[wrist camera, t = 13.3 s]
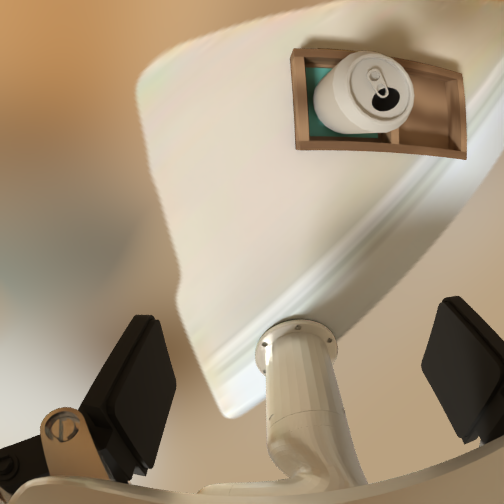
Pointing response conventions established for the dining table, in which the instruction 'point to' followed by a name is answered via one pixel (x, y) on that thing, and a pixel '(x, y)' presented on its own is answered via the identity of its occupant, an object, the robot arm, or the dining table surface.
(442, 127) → the tray
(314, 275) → the dining table surface
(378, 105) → the can
